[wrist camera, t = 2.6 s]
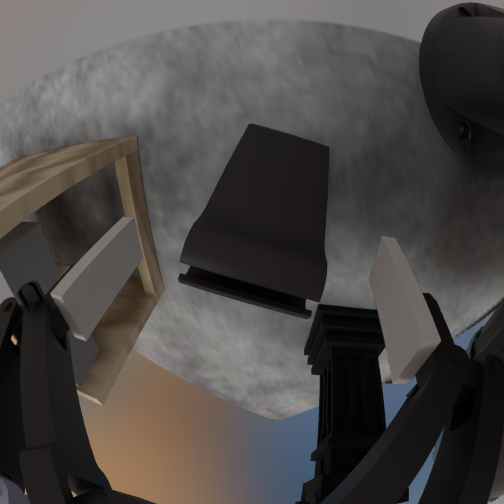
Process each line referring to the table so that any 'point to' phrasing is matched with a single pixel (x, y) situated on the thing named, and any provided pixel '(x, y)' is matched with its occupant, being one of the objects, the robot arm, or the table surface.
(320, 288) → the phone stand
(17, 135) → the table surface
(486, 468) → the robot arm
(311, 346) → the chess piece
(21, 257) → the trapdoor
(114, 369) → the frame
